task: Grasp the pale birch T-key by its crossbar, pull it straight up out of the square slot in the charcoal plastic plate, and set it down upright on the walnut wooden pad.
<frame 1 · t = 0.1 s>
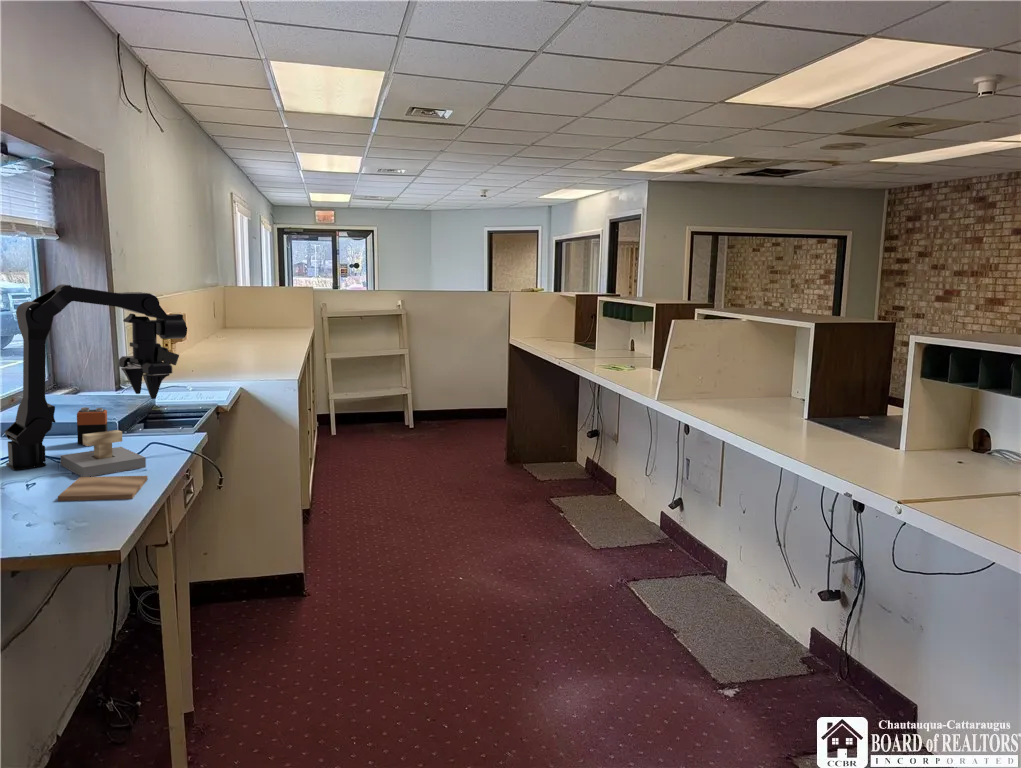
hand: (145, 396, 183), 15 cm above the table, fingers open, 9 cm apart
battery: (93, 443, 187), on the table
keyhole plate: (103, 466, 166), on the table
walnut pad: (105, 489, 150), on the table
t key: (103, 449, 166), in the keyhole plate
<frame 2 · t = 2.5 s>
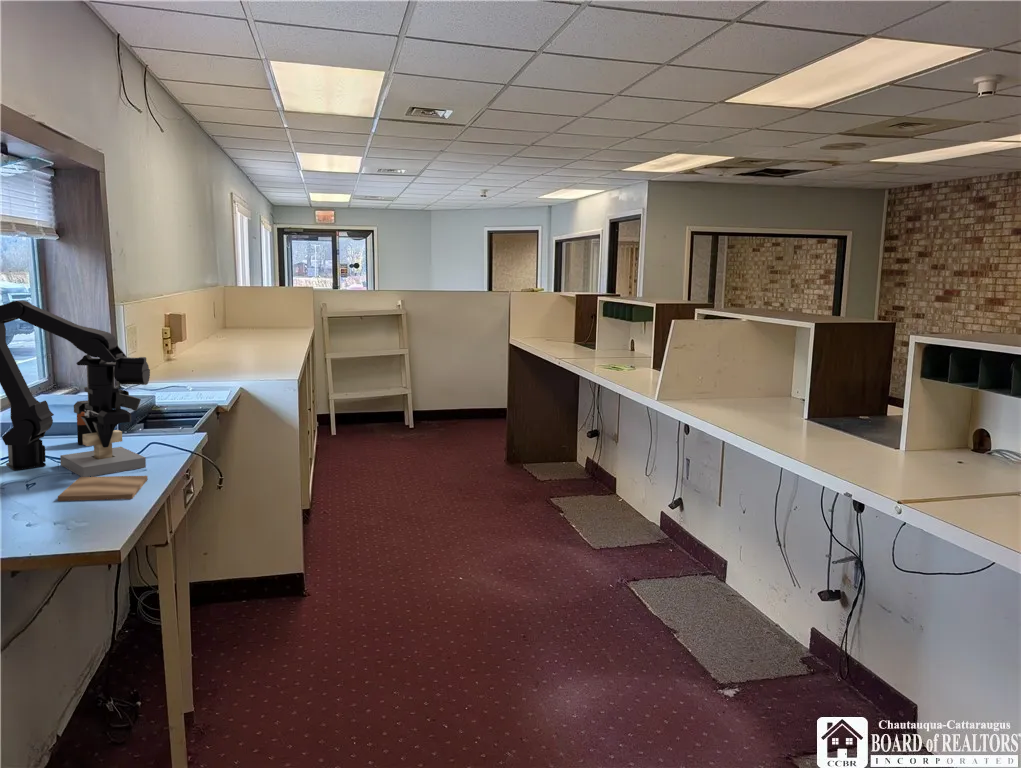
hand: (102, 445, 166), 5 cm above the table, fingers closed on t key, 3 cm apart
t key: (103, 449, 166), in the keyhole plate, touching gripper
everything else where it was.
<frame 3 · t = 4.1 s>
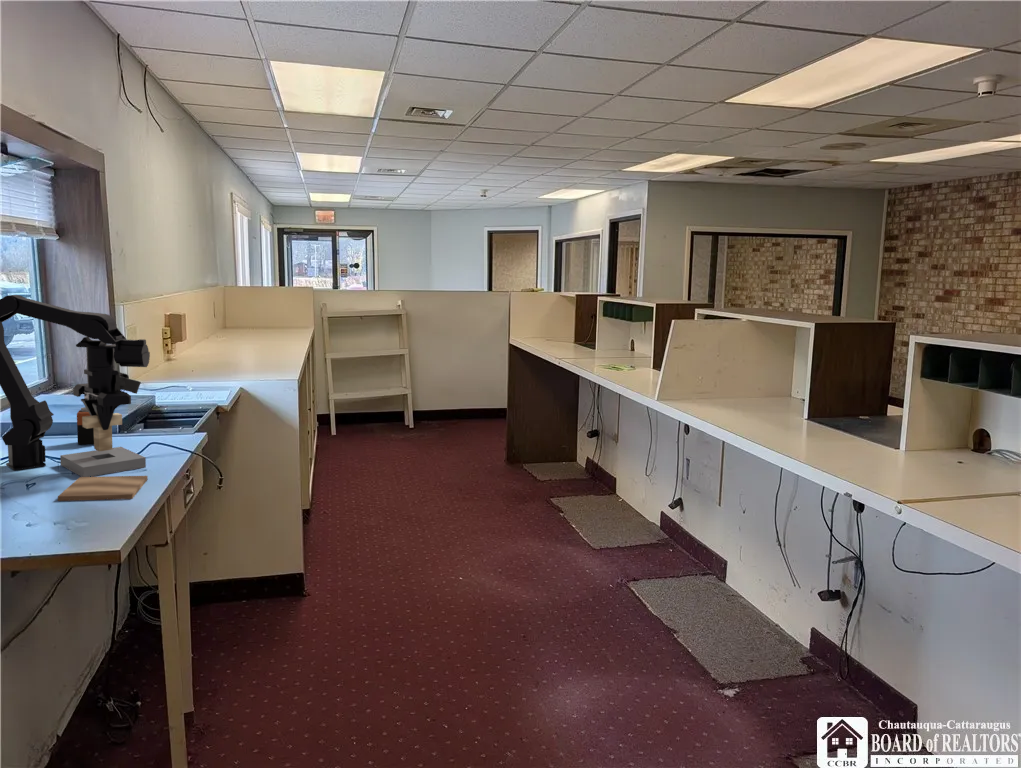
hand: (102, 428, 165), 10 cm above the table, fingers closed on t key, 3 cm apart
t key: (102, 432, 165), point 9 cm above the table, touching gripper
everything else where it was.
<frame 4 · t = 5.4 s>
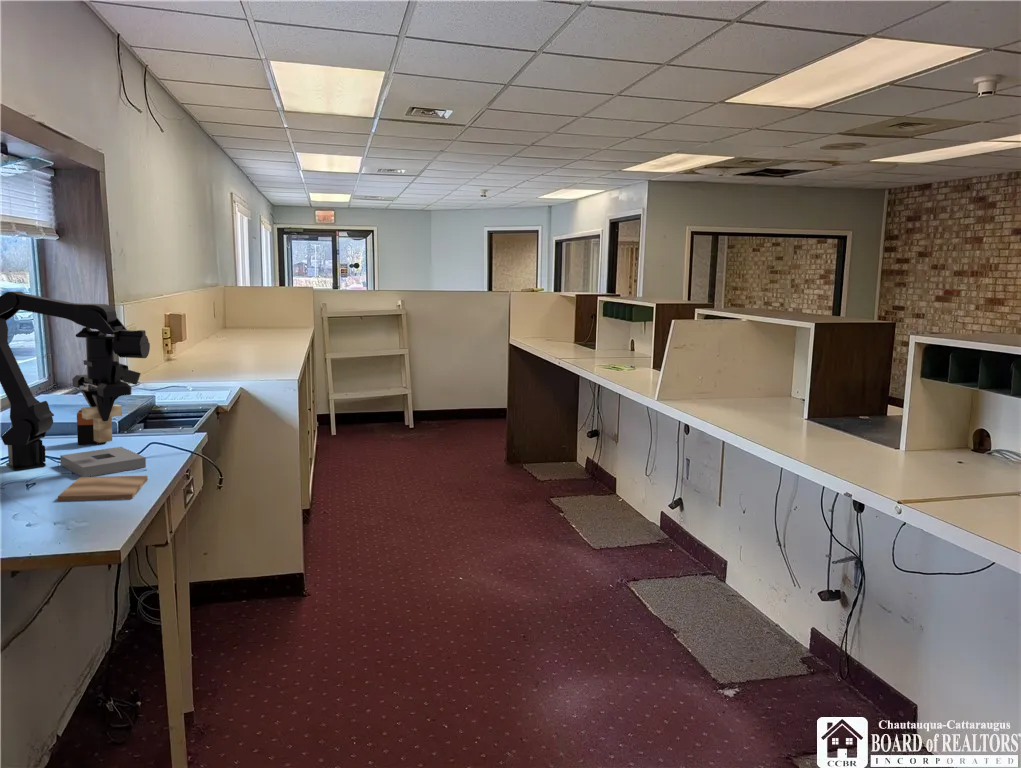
hand: (102, 419, 164), 12 cm above the table, fingers closed on t key, 3 cm apart
t key: (102, 423, 164), point 11 cm above the table, touching gripper
everything else where it was.
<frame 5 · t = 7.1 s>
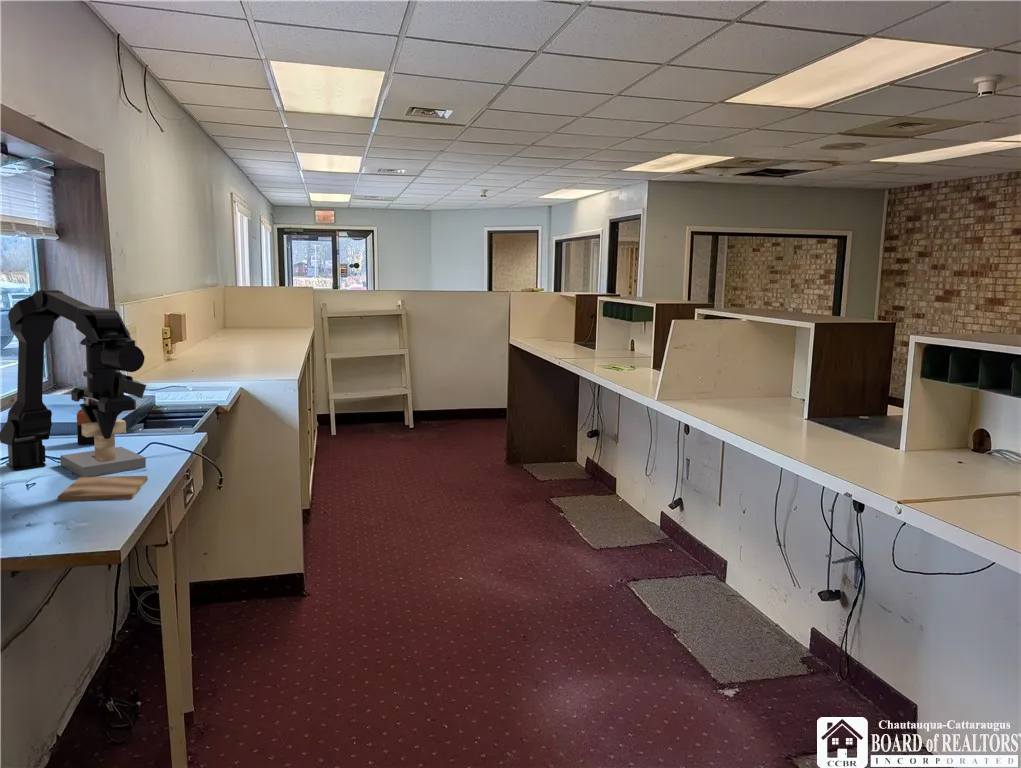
hand: (104, 437, 148), 12 cm above the table, fingers closed on t key, 3 cm apart
t key: (104, 441, 148), point 11 cm above the table, touching gripper
everything else where it was.
when the fingers open (6 cm above the table, at t = 8.6 s): t key stays where it is, resting on walnut pad.
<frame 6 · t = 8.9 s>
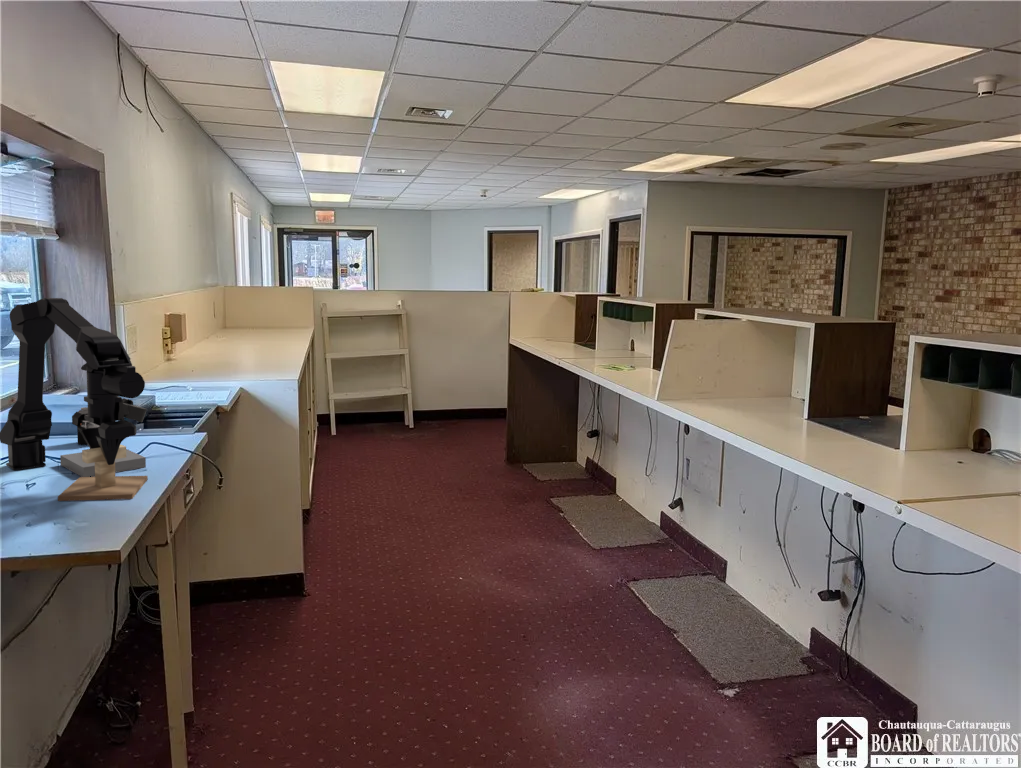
hand: (104, 461, 149), 6 cm above the table, fingers open, 6 cm apart
t key: (105, 466, 149), on the walnut pad, point 5 cm above the table
everything else where it was.
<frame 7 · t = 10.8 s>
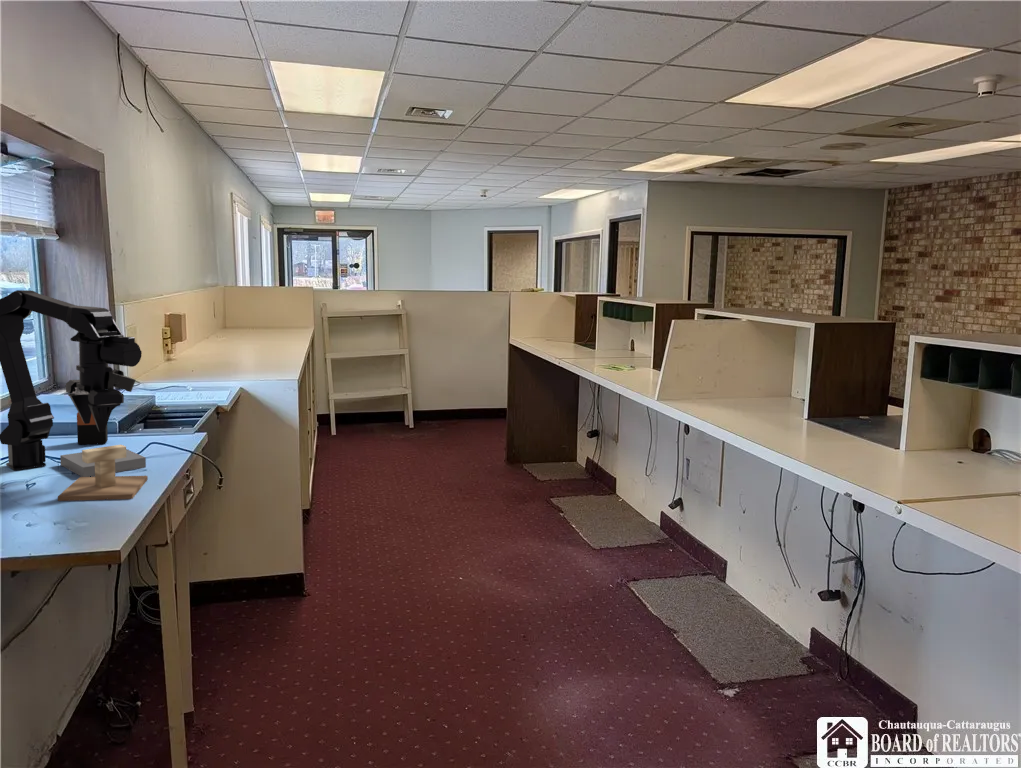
hand: (94, 427, 158), 12 cm above the table, fingers open, 9 cm apart
nothing on the table moved.
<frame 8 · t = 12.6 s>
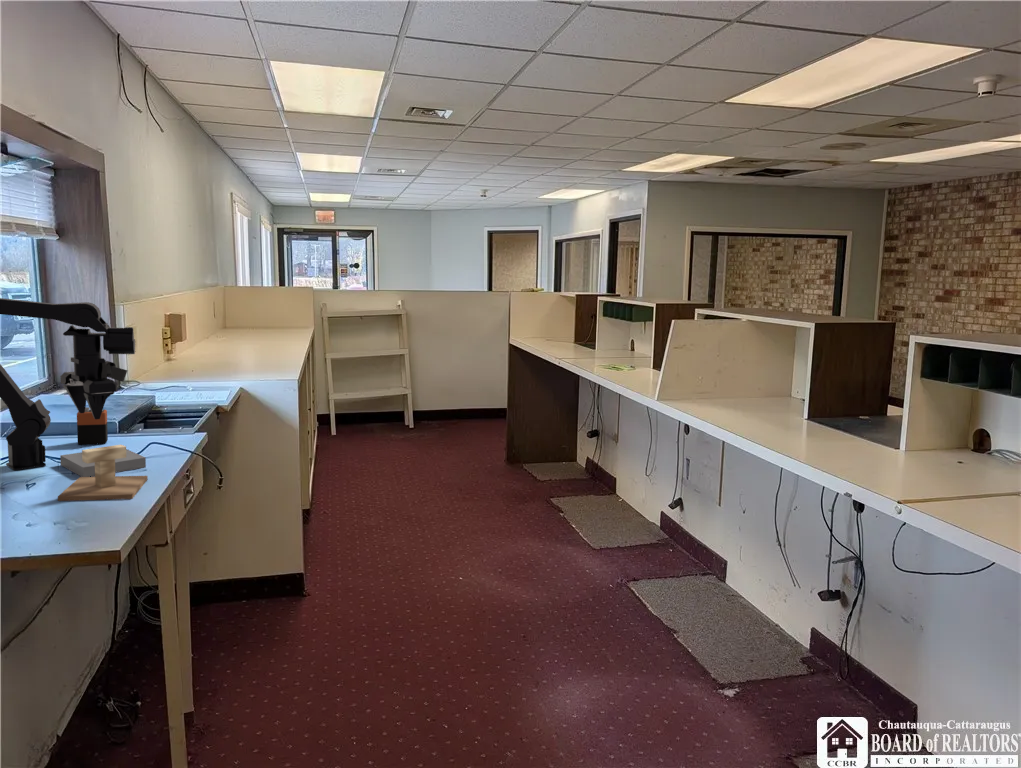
hand: (89, 416, 167), 12 cm above the table, fingers open, 9 cm apart
nothing on the table moved.
at the end: t key inside the target area on the walnut pad (0.1 cm from its centre), point 5.2 cm above the walnut pad's base; t key tilted 0°; the gripper is holding nothing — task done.
